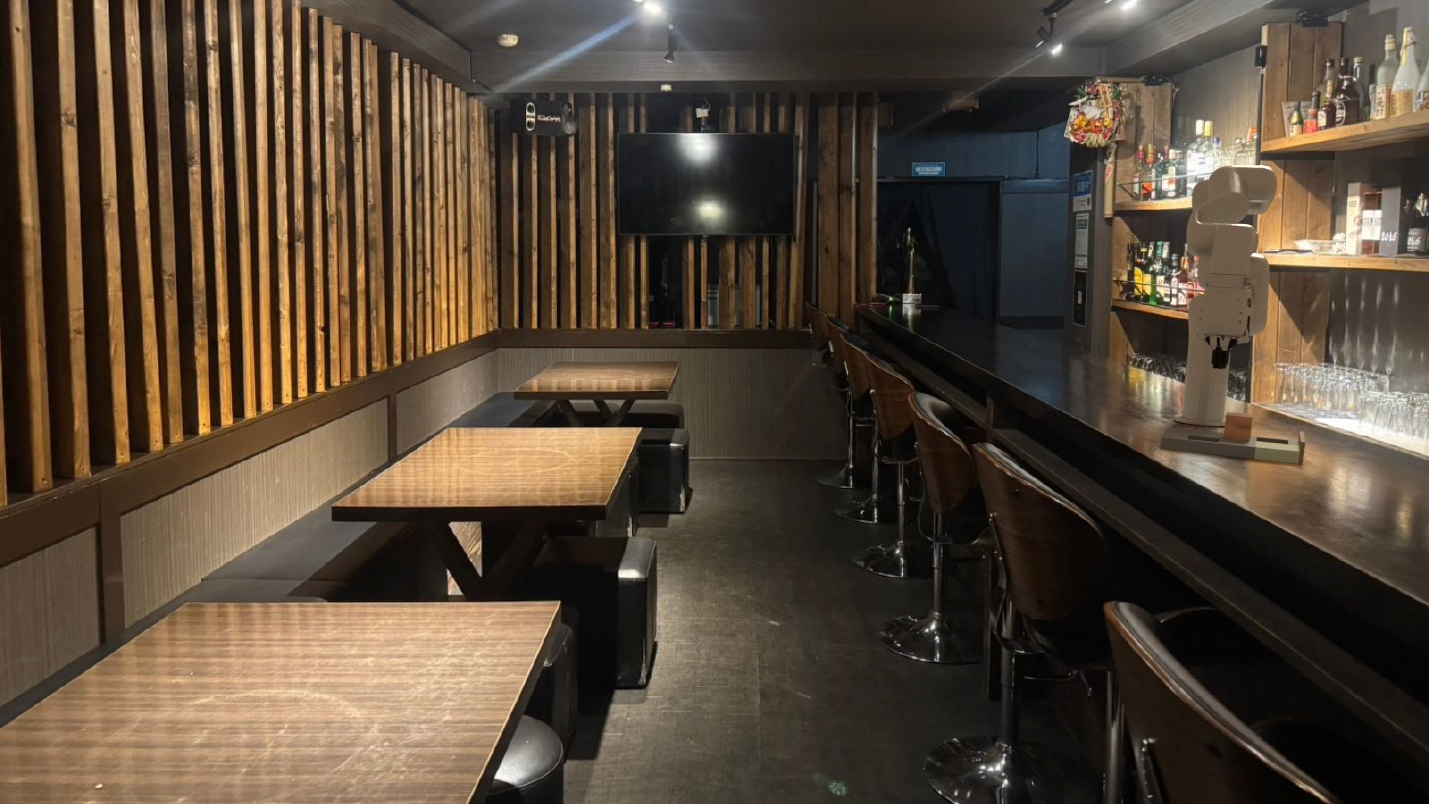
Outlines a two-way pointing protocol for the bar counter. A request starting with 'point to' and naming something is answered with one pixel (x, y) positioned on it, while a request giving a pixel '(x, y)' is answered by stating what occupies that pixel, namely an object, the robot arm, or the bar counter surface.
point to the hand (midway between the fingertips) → (1219, 368)
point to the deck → (1234, 445)
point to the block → (1238, 426)
